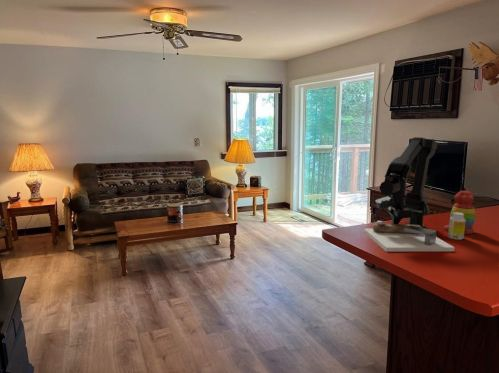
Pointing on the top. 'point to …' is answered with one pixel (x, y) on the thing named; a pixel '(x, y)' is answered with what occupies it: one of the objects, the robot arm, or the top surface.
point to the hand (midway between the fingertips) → (394, 227)
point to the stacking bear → (464, 210)
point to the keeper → (423, 233)
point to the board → (405, 241)
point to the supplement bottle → (456, 226)
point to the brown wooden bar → (392, 228)
